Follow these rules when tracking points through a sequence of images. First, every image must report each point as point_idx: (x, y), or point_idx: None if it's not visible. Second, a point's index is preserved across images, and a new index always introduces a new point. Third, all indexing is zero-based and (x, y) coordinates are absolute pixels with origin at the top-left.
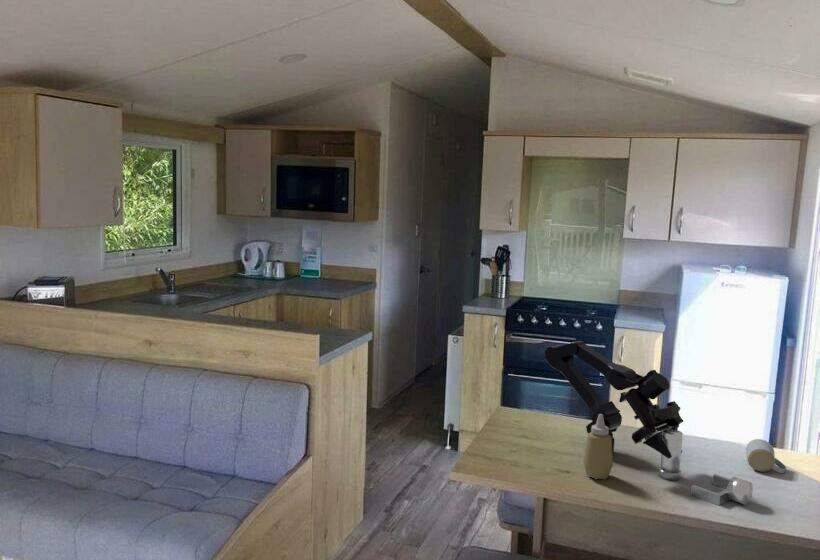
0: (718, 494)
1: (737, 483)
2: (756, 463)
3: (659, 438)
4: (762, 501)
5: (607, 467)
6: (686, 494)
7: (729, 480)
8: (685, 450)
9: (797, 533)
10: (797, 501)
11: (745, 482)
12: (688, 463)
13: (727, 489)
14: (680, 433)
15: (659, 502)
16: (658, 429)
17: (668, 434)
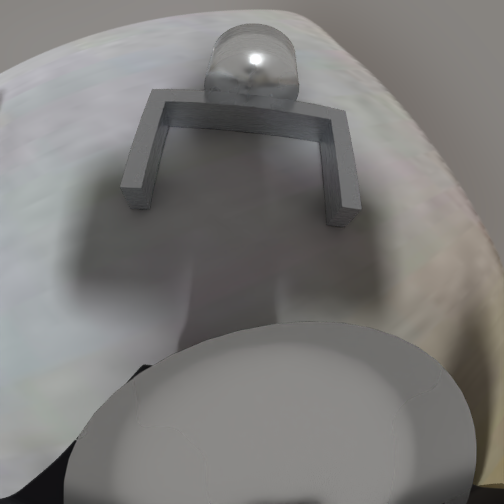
0: (337, 116)
1: (286, 47)
2: None
3: (481, 490)
4: (186, 68)
5: (497, 485)
6: (354, 241)
7: (155, 124)
8: None
9: (304, 22)
10: (124, 39)
11: (268, 29)
12: (8, 380)
13: (298, 89)
14: (224, 396)
15: (468, 277)
16: None
17: (471, 475)
